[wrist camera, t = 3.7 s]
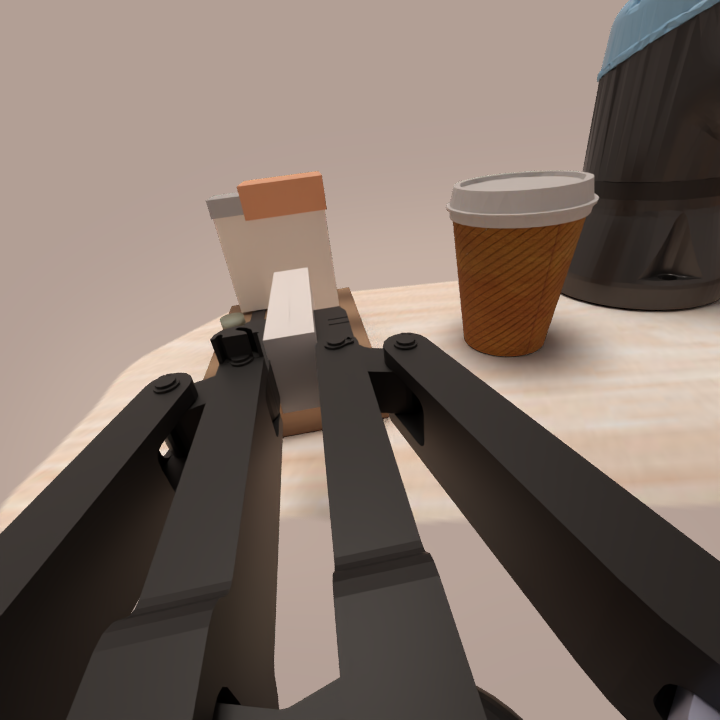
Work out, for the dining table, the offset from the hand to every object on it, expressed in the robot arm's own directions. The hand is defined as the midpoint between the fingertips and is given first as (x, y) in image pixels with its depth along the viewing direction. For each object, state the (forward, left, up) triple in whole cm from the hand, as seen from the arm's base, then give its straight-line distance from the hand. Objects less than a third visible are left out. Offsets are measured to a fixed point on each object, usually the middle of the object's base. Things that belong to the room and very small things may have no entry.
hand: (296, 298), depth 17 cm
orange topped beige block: (+5, -3, -7) cm, 9 cm away
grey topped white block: (+19, -3, -7) cm, 20 cm away
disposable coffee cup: (+2, -18, -10) cm, 20 cm away
